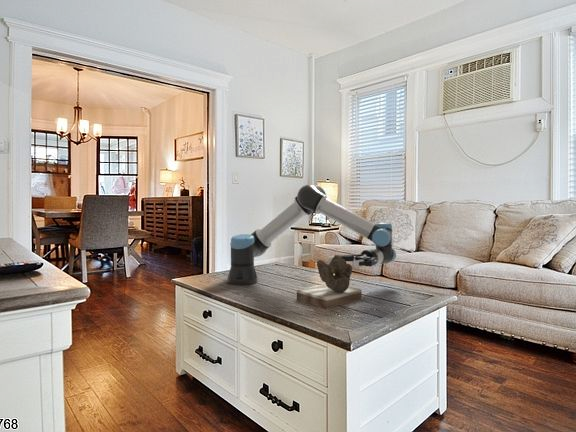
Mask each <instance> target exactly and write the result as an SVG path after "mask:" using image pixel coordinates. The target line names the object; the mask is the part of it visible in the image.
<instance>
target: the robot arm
mask: <svg viewBox="0 0 576 432" xmlns="http://www.w3.org/2000/svg"><path fill="white" fill-rule="evenodd" d="M313 213H314V214H321V215H323V216H325V217H327V218H328V219H330V220H332V221H334V222H336V223H337V224H339V225H342V226H343V227H346V228H347V229H349V230H350V231H353V232H354V233H356V234H358V235H360V236H362V237H364V238H365V239H366V240H369V241H371V242H372V243H373V244H375V248H369V249H365V250H362V251H361V253H357V254H354V253H351V254H338V255H339V256H341V257H342V259H344V260H345V261H346V262H351V266H352V269H354V268H355V269H356V268H361V267H370V268H371V267H377V266H376V265H378V266H379V265H382V264H383V265H384V264H389V263H392V262H393V261H395V260H396V258H397V252H396V250H395V249H394V248H393V245H392V244H393V225H392V223H390V222H377V223H374V222H372V221H370V220H368V219H367V218H364V217H363V216H361V215H359V214H357V213H356V212H353V211H351V210H349V209H348V208H346V207H344V206H342V205H341V204H338V203H336V202H335V201H333V200H331V199H329V198H328V196H327V193H326V191H325V190H324V189H323V188H322V186H319V185H314V184H305V185H303V186H301V187H300V189H299V190H298V192H297V195H296V196H295V197H294V201H293V203H291V204H290V205H289V206H287V207H286V208H285V209H284V210H283V211H282V212H281V213H279V214H278V215H276V217H275V218H273V219H272V220H271V221H270V222H269V223H267V224H266V225H265V226H264V227H263V228H260V229H259V228H258V229H255V230H254V231H253V232H252V233H251V234H249V233H248V234H247V233H246V234H244V233H243V234H236V235H234V236H232V237H231V239H230V268H229V272H228V273H227V274H228V275H227V281H226V283H228V284H231V285H237V286H242V285H243V286H244V285H252V284H256V283H258V275H257V271H256V269H255V258H257V257H261V256H262V255H264V254H265V253H266V252H267V250H268V249H269V248H270V247H272V242H273V241H274V240H275V239H277V238H278V237H279V236H281V235H282V234H283V233H284V232H285V231H287V230H288V229H290V227H292V226H293V225H295V223H297V222H298V221H299V220H301V219H302V218H303V217H304V216H310V215H311V214H313ZM336 255H337V254H335V255H334V256H336ZM334 256H328V257H327V258H328V259H327V264H330V262H331V260H332V258H333V257H334Z"/></svg>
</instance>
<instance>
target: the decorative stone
mask: <svg viewBox="0 0 576 432" xmlns="http://www.w3.org/2000/svg"><path fill="white" fill-rule="evenodd" d="M335 255H336V256H335ZM335 255H333V256H332V257H333V258H332V260H331V262H330V264H329V263H326V262H325V261H323V260H320V259H319V260H317V262H316V265H317V271H318V274H319V278H320V280H321V281H322V282H323V283H324V284H326V286H327V287H328V288H330V289H332V290H334V291H337V292H340V293H342V292H345V291H346V290H347V288H348V287H350V281H351V280H350V279H351V275H352V274H353V273H352V272H353V268H352V264H349V263H347V261H345V260H344V259H342V257H341V256H339V255H340V254H335Z"/></svg>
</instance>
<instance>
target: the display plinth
mask: <svg viewBox="0 0 576 432" xmlns="http://www.w3.org/2000/svg"><path fill="white" fill-rule="evenodd" d="M296 300H297V301H301V302H303V303H307V304H311V305H314V306H317V307H320V308H323V309H331V308H334V307H337V306H341V305H345V304H349V303H352V302H356V301H359V300H362V289H359V288H357V287H351V286H348V288H347V290H346V291H345V292H342V293H340V292H337V291H334V290H332V289H330V288H328V287H327V286H326V283H324V284H319V285H313V286H309V287H305V288H301V289H300V288H299V289H296Z"/></svg>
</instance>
